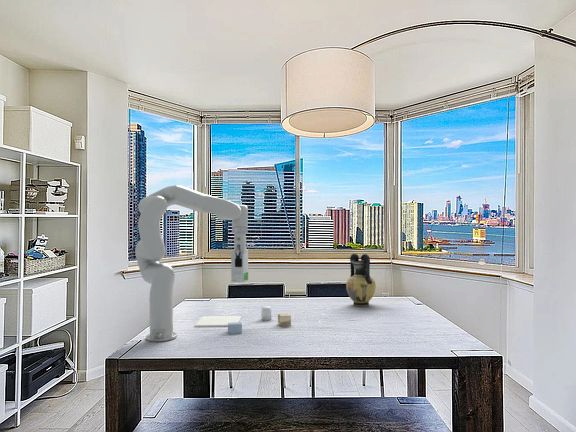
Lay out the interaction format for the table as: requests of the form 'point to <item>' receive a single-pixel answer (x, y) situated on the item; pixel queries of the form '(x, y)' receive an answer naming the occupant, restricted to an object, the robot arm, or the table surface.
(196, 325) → the cream mat
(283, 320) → the birch block
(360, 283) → the amphora
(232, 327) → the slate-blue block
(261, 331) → the table surface
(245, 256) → the skincare box
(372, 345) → the table surface
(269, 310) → the white rounded piece
